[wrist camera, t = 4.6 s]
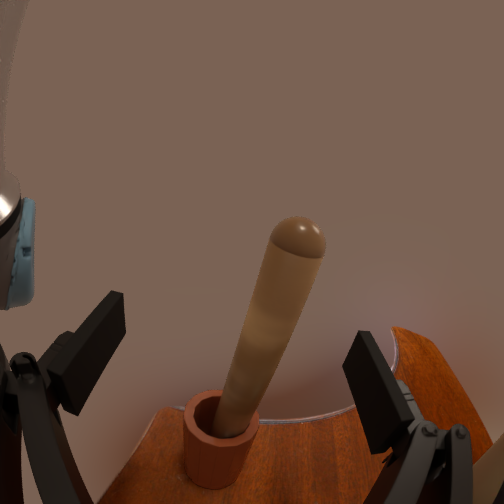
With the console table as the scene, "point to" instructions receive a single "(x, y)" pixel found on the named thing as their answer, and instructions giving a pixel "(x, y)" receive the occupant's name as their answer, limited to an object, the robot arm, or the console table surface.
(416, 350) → the console table surface
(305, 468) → the console table surface
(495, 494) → the coffee cup
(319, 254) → the stick
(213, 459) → the crock
